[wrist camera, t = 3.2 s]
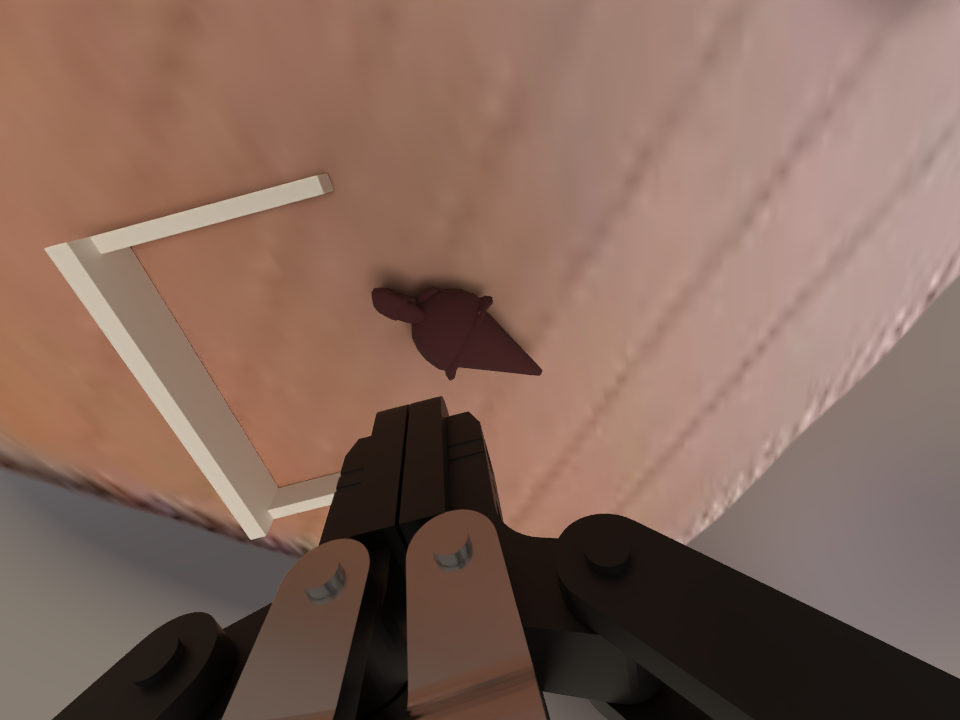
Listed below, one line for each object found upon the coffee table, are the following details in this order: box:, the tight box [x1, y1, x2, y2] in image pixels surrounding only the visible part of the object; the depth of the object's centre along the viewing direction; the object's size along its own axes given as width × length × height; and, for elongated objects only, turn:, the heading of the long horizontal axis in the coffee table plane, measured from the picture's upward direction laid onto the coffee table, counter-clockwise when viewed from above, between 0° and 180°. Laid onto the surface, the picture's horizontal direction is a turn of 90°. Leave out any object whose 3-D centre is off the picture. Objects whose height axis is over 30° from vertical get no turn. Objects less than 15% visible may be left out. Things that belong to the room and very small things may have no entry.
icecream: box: [372, 286, 542, 380], centre depth 34 cm, size 7×7×15 cm
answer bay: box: [44, 174, 341, 540], centre depth 35 cm, size 18×27×5 cm, turn 13°
